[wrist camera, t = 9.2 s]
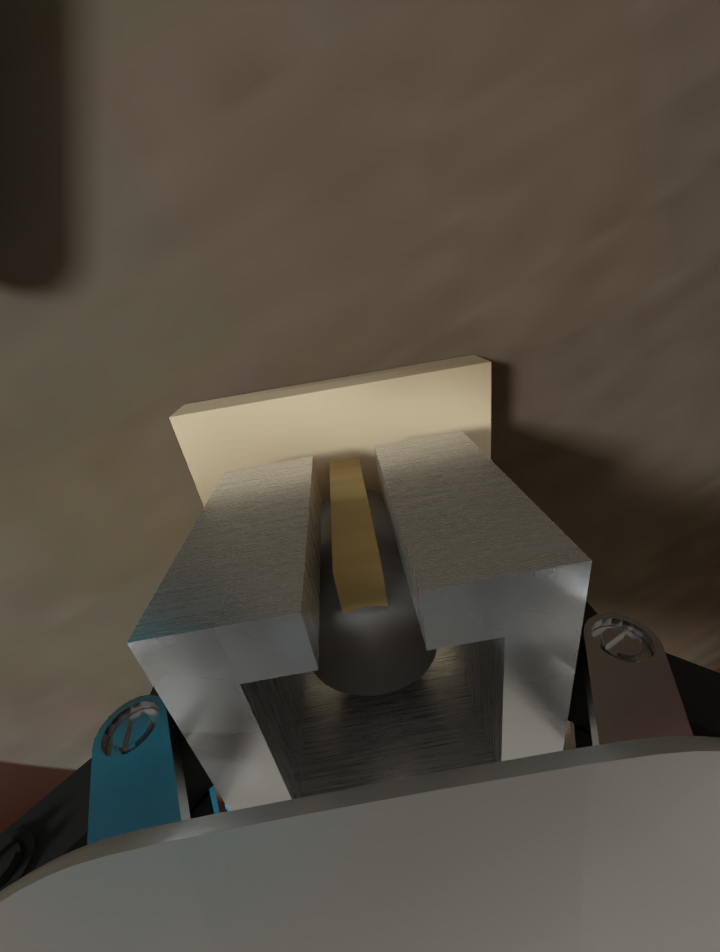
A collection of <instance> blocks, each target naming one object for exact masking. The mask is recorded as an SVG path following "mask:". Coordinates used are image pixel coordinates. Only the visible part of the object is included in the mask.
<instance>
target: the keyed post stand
mask: <svg viewBox="0 0 720 952" xmlns="http://www.w3.org/2000/svg"><path fill="white" fill-rule="evenodd" d="M169 418H170V421H171V423H172V426H173V429H174V431H175V434H176V436H177V439H178V441H179V444H180V446H181V449H182V451H183V454H184V457H185V459H186V462H187V464H188V467H189V469H190V472H191V474H192V477H193V479H194V482H195V485H196V487H197V490H198V492H199V495H200V497H201V500H202V502H203V505H204V507H205V505H206V503H207V501H208V499H209V498H210V496H211V494H212V492H213V491H214V489H215V487H216V485H217V484H218V482H219V480H220V478H221V477H222V475H223V473H224V471H229V470H235V469H241V468H247V467H252V466H258V465H264V464H270V463H276V462H281V461H287V460H293V459H299V458H305V457H310V456H313V459H314V464H315V468H316V472H317V477H318V481H319V486H320V490H321V552H320V608H319V664H318V670H316V671H314V673H315V675H316V676H317V677H318V678H319V679H320V680H321V681H322V682H323V683H324V684H326V685H327V686H329V687H331V688H333V689H335V690H337V691H340V692H343V693H347V694H352V695H362V696H369V695H380V694H385V693H389V692H393V691H396V690H398V689H401V688H403V687H405V686H407V685H409V684H411V683H412V682H414V681H416V680H417V679H418V678H419V677H421V676H422V675H423V674H424V673H425V672H426V671H427V670H428V668H429V667H430V666H431V664H432V662H433V660H434V658H435V655H436V651H437V649H434V650H428V651H427V649H426V646H425V642H424V639H423V635H422V632H421V628H420V625H419V621H418V618H417V614H416V611H415V607H414V604H413V600H412V597H411V593H410V590H409V586H408V583H407V579H406V576H405V572H404V569H403V565H402V562H401V558H400V555H399V551H398V548H397V544H396V541H395V537H394V534H393V530H392V527H391V523H390V520H389V516H388V513H387V509H386V506H385V502H384V499H383V495H382V492H381V488H380V485H379V478H378V471H377V465H376V458H375V451H374V445H380V444H385V443H391V442H397V441H403V440H409V439H414V438H420V437H426V436H432V435H437V434H443V433H449V432H455V431H461V430H462V431H463V432H464V433H465V434H466V435H467V436H468V437H469V438H470V439H471V440H472V441H473V442H474V443H475V444H476V445H477V446H478V447H479V448H480V449H481V450H482V451H483V452H484V453H485V454H486V455H487V456H488V457H489V458H490V459H491V361H488V360H486V359H483V358H481V357H479V356H476V355H469V356H463V357H457V358H451V359H445V360H440V361H434V362H428V363H422V364H416V365H411V366H405V367H399V368H393V369H387V370H381V371H376V372H370V373H364V374H358V375H352V376H347V377H341V378H335V379H329V380H323V381H318V382H312V383H306V384H300V385H294V386H288V387H283V388H277V389H271V390H265V391H259V392H254V393H248V394H242V395H236V396H230V397H225V398H219V399H213V400H207V401H201V402H195V403H190V404H185V405H184V406H183V407H181V408H180V409H179V410H177V411H176V412H175V413H174V414H172V415H171V416H170V417H169Z"/></svg>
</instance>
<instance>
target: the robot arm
mask: <svg viewBox="0 0 720 952" xmlns="http://www.w3.org/2000/svg"><path fill="white" fill-rule="evenodd" d="M568 720H569V721H570V726H571V738H572V749H570V750H563V751H557V752H552V753H546V754H540V755H535V756H529V757H523V758H518V759H512V760H506V761H501V762H495V763H489V764H484V765H478V766H472V767H467V768H461V769H455V770H450V771H444V772H439V773H433V774H428V775H422V776H417V777H411V778H406V779H400V780H395V781H389V782H384V783H378V784H373V785H367V786H362V787H356V788H351V789H345V790H340V791H334V792H329V793H323V794H318V795H313V796H307V797H302V798H297V799H291V800H286V801H281V802H275V803H270V804H265V805H260V806H254V807H249V808H244V809H238V810H233V811H228V812H222V813H219V809H218V804H217V799H216V795H215V790H214V784H213V783H212V781H211V779H210V778H209V776H208V775H207V773H206V771H205V770H204V768H203V766H202V765H201V763H200V761H199V760H198V758H197V757H196V755H195V753H194V752H193V750H192V748H191V747H190V745H189V744H188V742H187V740H186V739H185V737H184V735H183V734H182V732H181V730H180V729H179V727H178V726H177V724H176V722H175V721H174V719H173V717H172V716H171V714H170V712H169V711H168V709H167V708H166V706H165V704H164V703H163V701H162V699H161V698H160V696H159V695H158V693H157V691H156V690H155V688H154V687H153V689H152V691H151V694H150V695H145V696H140V697H137V698H135V699H133V700H130V701H129V702H127V703H125V704H124V705H122V706H121V707H119V708H118V709H117V710H116V711H115V712H114V713H113V714H112V715H111V716H109V717H108V719H107V720H106V721H105V722H104V724H103V725H102V726H101V728H100V729H99V731H98V733H97V735H96V737H95V739H94V744H93V748H92V758H91V759H90V760H88V761H87V762H86V763H85V764H84V765H82V766H81V767H80V768H79V769H78V770H76V771H75V772H74V773H73V774H72V775H70V776H69V777H68V778H67V779H66V780H64V781H63V782H62V783H61V784H60V785H58V786H57V787H56V788H55V789H54V790H52V791H51V792H50V793H49V794H48V795H47V796H45V797H44V798H43V799H42V800H40V801H39V802H38V803H37V804H36V805H34V806H33V807H32V808H31V809H29V810H28V811H27V812H26V813H25V814H23V815H22V816H21V817H20V818H19V819H17V820H16V821H15V822H14V823H13V824H11V825H10V826H9V827H8V828H7V829H6V830H4V831H3V832H2V833H1V834H0V952H720V673H718V672H715V671H712V670H710V669H707V668H705V667H702V666H699V665H697V664H694V663H691V662H689V661H686V660H683V659H681V658H678V657H676V656H673V655H670V654H668V653H665V650H664V647H663V645H662V643H661V641H660V640H659V638H658V637H657V636H656V635H655V634H654V632H653V631H652V630H651V629H649V628H648V627H646V626H645V625H643V624H642V623H640V622H639V621H636V620H634V619H632V618H630V617H627V616H623V615H619V614H611V613H603V614H597V613H596V612H595V611H594V609H593V608H592V607H591V606H590V605H589V604H588V602H587V601H586V604H585V611H584V617H583V623H582V630H581V636H580V643H579V649H578V656H577V662H576V669H575V675H574V682H573V688H572V694H571V701H570V707H569V714H568Z"/></svg>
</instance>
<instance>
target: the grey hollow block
mask: <svg viewBox="0 0 720 952" xmlns="http://www.w3.org/2000/svg"><path fill="white" fill-rule="evenodd" d="M374 451H375V458H376V465H377V471H378V478H379V485H380V488H381V492H382V495H383V499H384V502H385V506H386V509H387V513H388V516H389V520H390V523H391V527H392V530H393V534H394V537H395V541H396V544H397V548H398V551H399V555H400V558H401V562H402V565H403V569H404V572H405V576H406V579H407V583H408V586H409V590H410V593H411V597H412V600H413V604H414V607H415V611H416V614H417V618H418V621H419V625H420V628H421V632H422V635H423V639H424V642H425V646H426V649H427V651H428V650H434V649H437V651H436V655H435V658H434V660H433V662H432V664H431V666H430V667H429V668H428V670H427V671H426V672H425V673H424V674H423V675H422V676H421V677H419V678H418V679H417V680H416V681H414V682H412V683H411V684H409V685H407V686H405V687H403V688H401V689H398V690H396V691H393V692H389V693H385V694H380V695H369V696H362V695H352V694H347V693H343V692H340V691H337V690H335V689H333V688H331V687H329V686H327V685H326V684H324V683H323V682H322V681H321V680H320V679H319V678H318V677H317V676H316V675H315V673H314V671H316V670H318V664H319V608H320V552H321V490H320V486H319V481H318V477H317V472H316V468H315V464H314V459H313V456H310V457H305V458H299V459H293V460H287V461H281V462H276V463H270V464H264V465H258V466H252V467H247V468H241V469H235V470H229V471H224V473H223V475H222V477H221V478H220V480H219V482H218V484H217V485H216V487H215V489H214V491H213V492H212V494H211V496H210V498H209V499H208V501H207V503H206V505H205V507H204V508H203V510H202V512H201V514H200V515H199V517H198V519H197V521H196V522H195V524H194V526H193V528H192V529H191V531H190V533H189V535H188V536H187V538H186V540H185V542H184V543H183V545H182V547H181V549H180V551H179V552H178V554H177V556H176V558H175V559H174V561H173V563H172V565H171V566H170V568H169V570H168V572H167V573H166V575H165V577H164V579H163V580H162V582H161V584H160V586H159V587H158V589H157V591H156V593H155V595H154V596H153V598H152V600H151V602H150V603H149V605H148V607H147V609H146V610H145V612H144V614H143V616H142V617H141V619H140V621H139V623H138V624H137V626H136V628H135V630H134V631H133V633H132V635H131V637H130V639H129V640H128V642H127V644H128V646H129V647H130V649H131V650H132V652H133V654H134V655H135V657H136V659H137V660H138V662H139V664H140V665H141V667H142V668H143V670H144V672H145V673H146V675H147V677H148V678H149V680H150V681H151V683H152V685H153V686H154V688H155V690H156V691H157V693H158V695H159V696H160V698H161V699H162V701H163V703H164V704H165V706H166V708H167V709H168V711H169V712H170V714H171V716H172V717H173V719H174V721H175V722H176V724H177V726H178V727H179V729H180V730H181V732H182V734H183V735H184V737H185V739H186V740H187V742H188V744H189V745H190V747H191V748H192V750H193V752H194V753H195V755H196V757H197V758H198V760H199V761H200V763H201V765H202V766H203V768H204V770H205V771H206V773H207V775H208V776H209V778H210V779H211V781H212V783H213V784H214V786H215V788H216V789H217V791H218V793H219V794H220V796H221V797H222V799H223V800H224V802H225V804H226V806H227V807H228V809H229V810H230V811H233V810H238V809H244V808H249V807H254V806H260V805H265V804H270V803H275V802H281V801H286V800H291V799H297V798H302V797H307V796H313V795H318V794H323V793H329V792H334V791H340V790H345V789H351V788H356V787H362V786H367V785H373V784H378V783H384V782H389V781H395V780H400V779H406V778H411V777H417V776H422V775H428V774H433V773H439V772H444V771H450V770H455V769H461V768H467V767H472V766H478V765H484V764H489V763H495V762H501V761H506V760H512V759H518V758H523V757H529V756H535V755H540V754H546V753H552V752H557V751H563V746H564V740H565V733H566V727H567V720H568V714H569V707H570V701H571V694H572V688H573V682H574V675H575V669H576V662H577V656H578V649H579V643H580V636H581V630H582V623H583V617H584V611H585V604H586V598H587V591H588V585H589V578H590V572H591V565H592V560H591V559H590V558H589V557H588V556H587V555H586V554H585V553H584V552H583V551H582V550H581V549H580V548H579V547H578V546H577V545H576V544H575V543H574V542H573V541H572V540H571V539H570V538H569V537H568V536H567V535H566V534H565V533H564V532H563V531H562V530H561V529H560V528H559V527H558V526H557V525H556V524H555V523H554V522H553V521H552V520H551V519H550V518H549V517H548V516H547V515H546V514H545V513H544V512H543V511H542V510H541V509H540V508H539V507H538V506H537V505H536V504H535V503H534V502H533V501H532V500H531V499H530V498H529V497H528V496H527V495H526V494H525V493H524V492H523V491H522V490H521V489H520V488H519V487H518V486H517V485H516V484H515V483H514V482H513V481H512V480H511V479H510V478H509V477H508V476H507V475H506V474H505V473H504V472H503V471H502V470H501V469H500V468H499V467H498V466H497V465H496V464H495V463H494V462H493V461H492V460H491V459H490V458H489V457H488V456H487V455H486V454H485V453H484V452H483V451H482V450H481V449H480V448H479V447H478V446H477V445H476V444H475V443H474V442H473V441H472V440H471V439H470V438H469V437H468V436H467V435H466V434H465V433H464V432H463V431H462V430H461V431H455V432H449V433H443V434H437V435H432V436H426V437H420V438H414V439H409V440H403V441H397V442H391V443H385V444H380V445H374Z"/></svg>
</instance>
